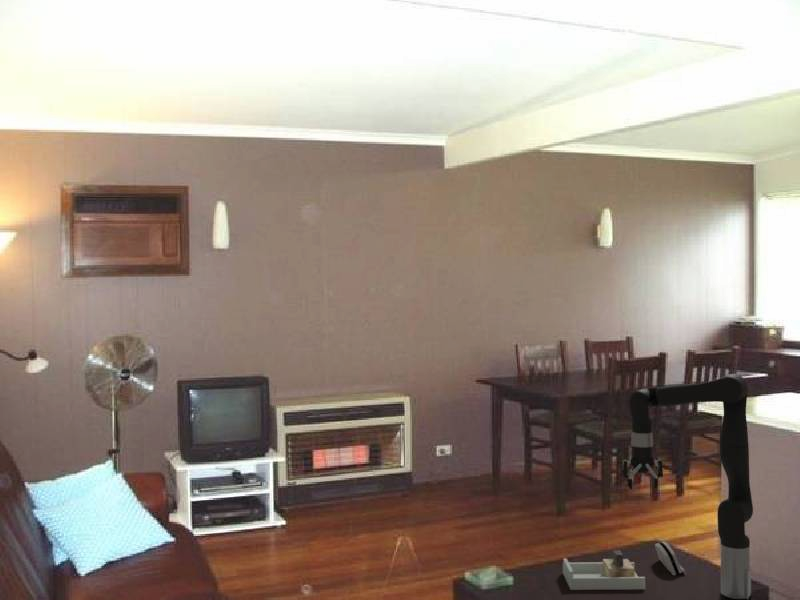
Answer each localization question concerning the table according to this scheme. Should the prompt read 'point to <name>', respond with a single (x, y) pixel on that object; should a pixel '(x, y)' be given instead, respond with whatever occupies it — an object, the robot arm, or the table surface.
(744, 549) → the robot arm
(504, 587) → the table surface
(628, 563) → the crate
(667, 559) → the hinge
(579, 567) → the bay
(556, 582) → the table surface
